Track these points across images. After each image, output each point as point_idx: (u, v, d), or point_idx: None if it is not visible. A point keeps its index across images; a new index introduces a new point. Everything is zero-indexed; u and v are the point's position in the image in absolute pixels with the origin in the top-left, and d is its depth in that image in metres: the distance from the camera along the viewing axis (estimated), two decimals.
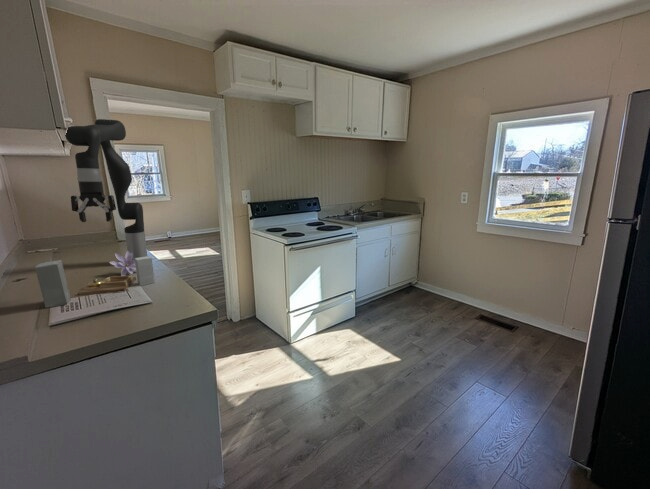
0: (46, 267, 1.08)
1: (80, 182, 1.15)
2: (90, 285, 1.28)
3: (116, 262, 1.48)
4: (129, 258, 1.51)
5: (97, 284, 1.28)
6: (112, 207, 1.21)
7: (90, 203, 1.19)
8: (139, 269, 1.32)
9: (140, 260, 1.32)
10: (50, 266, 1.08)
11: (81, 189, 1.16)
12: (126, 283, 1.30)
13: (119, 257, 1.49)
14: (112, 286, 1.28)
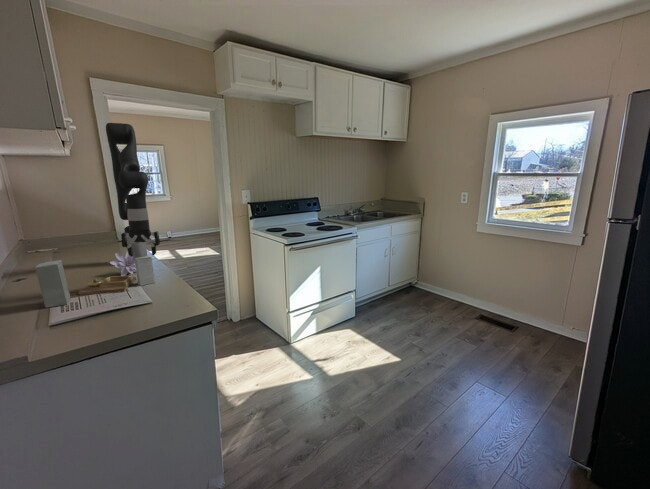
0: (46, 267, 1.08)
1: (130, 221, 1.27)
2: (90, 285, 1.28)
3: (116, 262, 1.48)
4: (129, 258, 1.51)
5: (97, 284, 1.28)
6: (157, 242, 1.33)
7: (138, 239, 1.31)
8: (139, 269, 1.32)
9: (140, 260, 1.32)
10: (50, 266, 1.08)
11: (131, 227, 1.27)
12: (126, 283, 1.30)
13: (119, 257, 1.49)
14: (112, 286, 1.28)
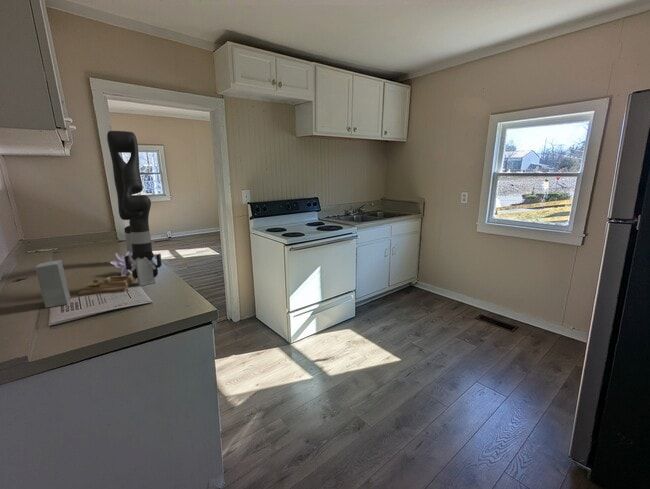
0: (46, 267, 1.08)
1: (133, 244, 1.29)
2: (90, 285, 1.28)
3: (117, 262, 1.48)
4: None
5: (97, 284, 1.28)
6: (159, 264, 1.35)
7: None
8: (139, 269, 1.32)
9: (140, 260, 1.32)
10: (50, 266, 1.08)
11: (134, 250, 1.30)
12: (126, 283, 1.30)
13: (120, 257, 1.49)
14: (112, 286, 1.28)
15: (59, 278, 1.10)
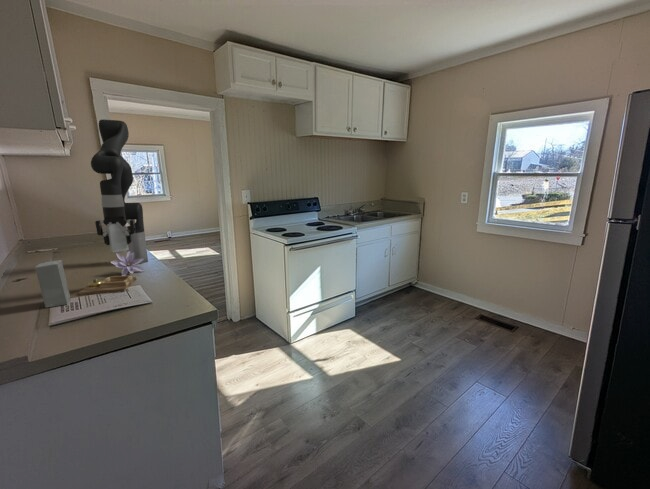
0: (46, 267, 1.08)
1: (104, 208, 1.23)
2: (90, 285, 1.28)
3: (117, 262, 1.48)
4: (130, 258, 1.52)
5: (97, 284, 1.28)
6: (132, 231, 1.29)
7: None
8: (111, 234, 1.25)
9: (112, 225, 1.25)
10: (50, 266, 1.08)
11: (105, 214, 1.23)
12: (126, 283, 1.30)
13: (120, 257, 1.50)
14: (112, 286, 1.28)
15: (59, 278, 1.10)
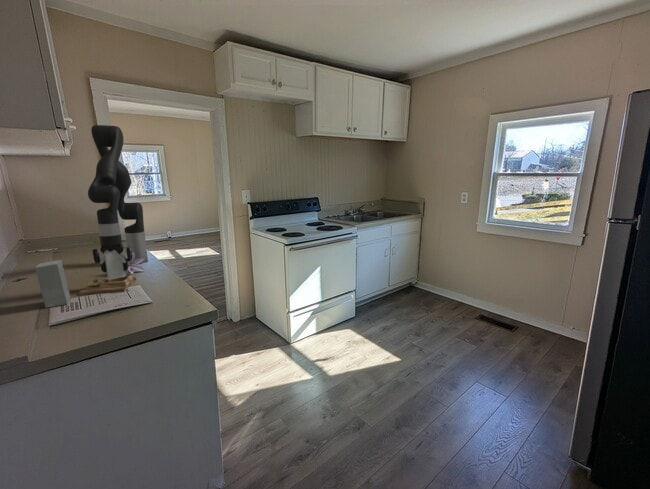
0: (46, 267, 1.08)
1: (101, 236, 1.24)
2: (90, 285, 1.28)
3: None
4: None
5: (97, 284, 1.28)
6: (129, 258, 1.30)
7: None
8: (108, 262, 1.27)
9: (109, 253, 1.27)
10: (50, 266, 1.08)
11: (102, 243, 1.25)
12: (126, 283, 1.30)
13: None
14: (112, 286, 1.28)
15: (59, 278, 1.10)
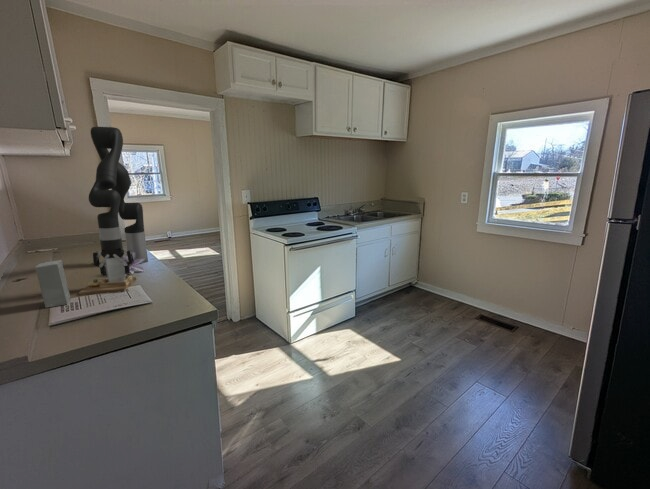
0: (46, 267, 1.08)
1: (102, 241, 1.25)
2: (90, 285, 1.28)
3: None
4: None
5: (97, 284, 1.28)
6: (130, 261, 1.31)
7: None
8: (108, 269, 1.28)
9: (109, 259, 1.27)
10: (50, 266, 1.08)
11: (103, 247, 1.25)
12: (126, 283, 1.30)
13: None
14: (112, 286, 1.28)
15: (59, 278, 1.10)
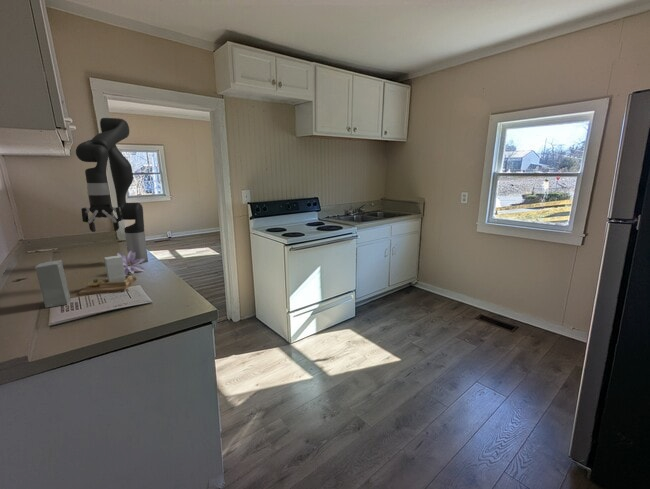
0: (46, 267, 1.08)
1: (90, 196, 1.25)
2: (90, 285, 1.28)
3: None
4: (131, 258, 1.52)
5: (97, 284, 1.28)
6: (119, 218, 1.32)
7: (99, 214, 1.30)
8: (108, 269, 1.28)
9: (109, 259, 1.27)
10: (50, 266, 1.08)
11: (91, 202, 1.26)
12: (126, 283, 1.30)
13: (122, 256, 1.50)
14: (112, 286, 1.28)
15: (59, 278, 1.10)
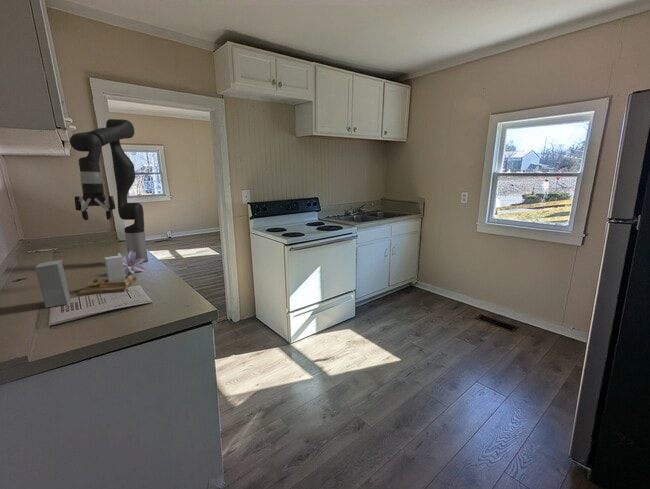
0: (46, 267, 1.08)
1: (83, 184, 1.28)
2: (90, 285, 1.28)
3: None
4: (132, 258, 1.52)
5: (97, 284, 1.28)
6: (112, 206, 1.34)
7: (92, 203, 1.32)
8: (108, 269, 1.28)
9: (109, 259, 1.27)
10: (50, 266, 1.08)
11: (84, 190, 1.29)
12: (126, 283, 1.30)
13: (122, 256, 1.50)
14: (112, 286, 1.28)
15: (59, 278, 1.10)
